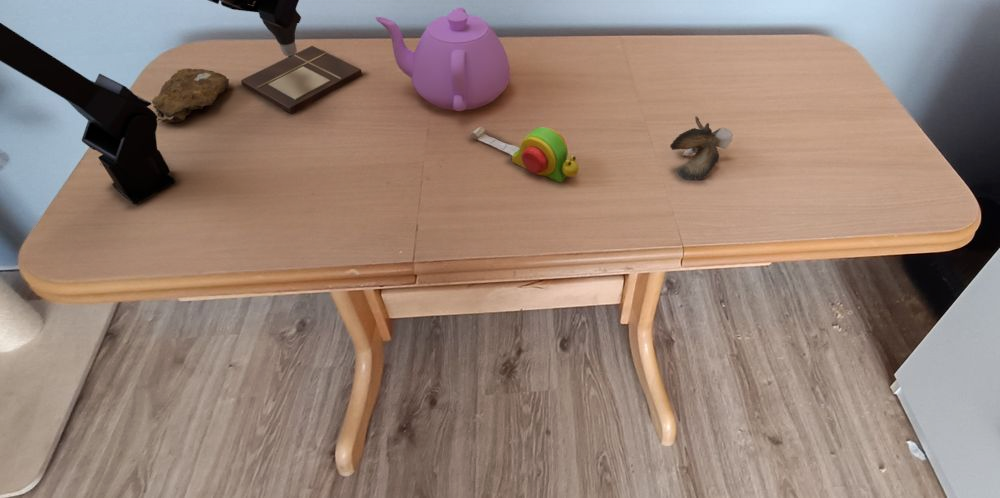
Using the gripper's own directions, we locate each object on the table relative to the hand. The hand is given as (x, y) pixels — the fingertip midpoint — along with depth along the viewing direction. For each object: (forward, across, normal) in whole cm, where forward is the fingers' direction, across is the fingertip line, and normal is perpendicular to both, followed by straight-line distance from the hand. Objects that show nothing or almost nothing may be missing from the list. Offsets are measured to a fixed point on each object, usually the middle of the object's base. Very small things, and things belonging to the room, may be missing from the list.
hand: (286, 15), depth 95 cm
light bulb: (+4, 0, +6) cm, 7 cm away
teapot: (+18, -22, 0) cm, 29 cm away
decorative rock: (-1, +12, +20) cm, 23 cm away
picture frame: (+10, +2, +8) cm, 13 cm away
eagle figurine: (+22, -66, -3) cm, 70 cm away
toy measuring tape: (+12, -44, +7) cm, 46 cm away
